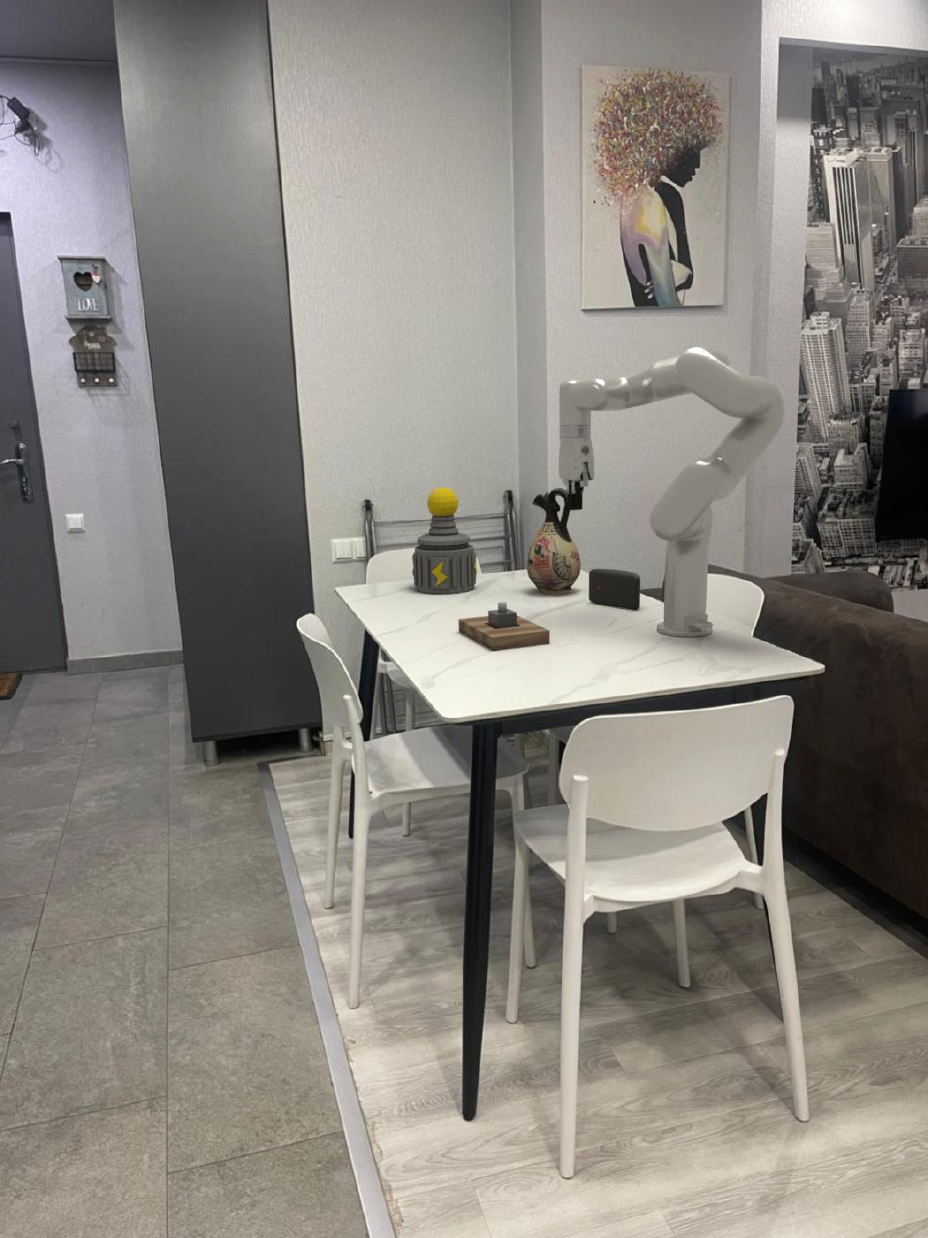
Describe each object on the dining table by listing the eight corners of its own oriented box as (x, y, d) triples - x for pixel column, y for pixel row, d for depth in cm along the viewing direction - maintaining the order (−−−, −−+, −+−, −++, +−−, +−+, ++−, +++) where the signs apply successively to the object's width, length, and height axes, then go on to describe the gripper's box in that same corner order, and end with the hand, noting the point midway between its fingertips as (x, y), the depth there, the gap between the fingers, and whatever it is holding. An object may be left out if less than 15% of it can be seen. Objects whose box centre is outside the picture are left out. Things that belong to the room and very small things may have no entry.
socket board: (549, 643, 199) (549, 630, 199) (492, 650, 194) (491, 637, 194) (512, 625, 218) (512, 613, 217) (458, 631, 213) (458, 619, 212)
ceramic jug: (515, 593, 256) (514, 488, 249) (548, 585, 267) (548, 484, 260) (563, 600, 245) (563, 490, 238) (595, 591, 256) (596, 486, 249)
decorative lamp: (408, 595, 258) (404, 490, 251) (419, 582, 276) (416, 485, 269) (472, 595, 255) (470, 489, 248) (480, 582, 273) (478, 484, 267)
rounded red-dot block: (647, 608, 232) (648, 573, 230) (636, 611, 229) (637, 575, 227) (597, 600, 244) (598, 566, 242) (587, 603, 241) (587, 568, 239)
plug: (517, 634, 205) (516, 604, 203) (497, 636, 203) (496, 606, 201) (508, 629, 209) (507, 600, 208) (488, 631, 207) (487, 602, 206)
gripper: (604, 432, 209) (604, 511, 213) (573, 432, 223) (573, 506, 227) (576, 433, 206) (576, 513, 211) (546, 433, 220) (547, 508, 224)
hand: (575, 509), depth 219 cm, fingers closed
